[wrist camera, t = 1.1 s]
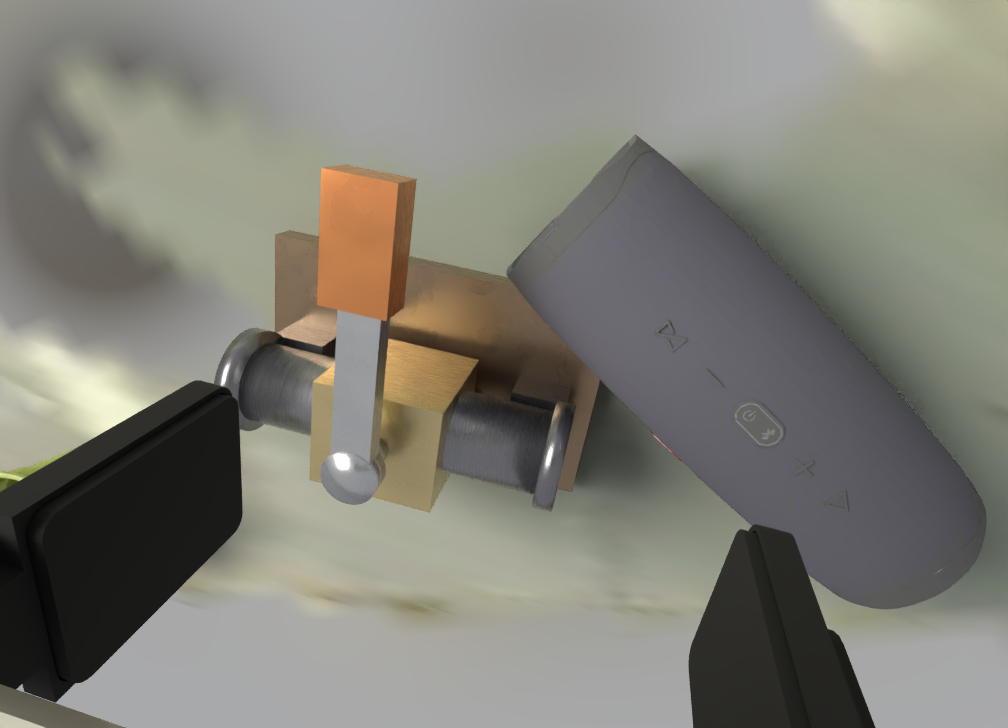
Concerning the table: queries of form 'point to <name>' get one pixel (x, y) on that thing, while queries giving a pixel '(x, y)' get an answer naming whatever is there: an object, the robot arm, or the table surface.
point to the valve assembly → (425, 381)
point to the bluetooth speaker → (751, 383)
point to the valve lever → (361, 312)
